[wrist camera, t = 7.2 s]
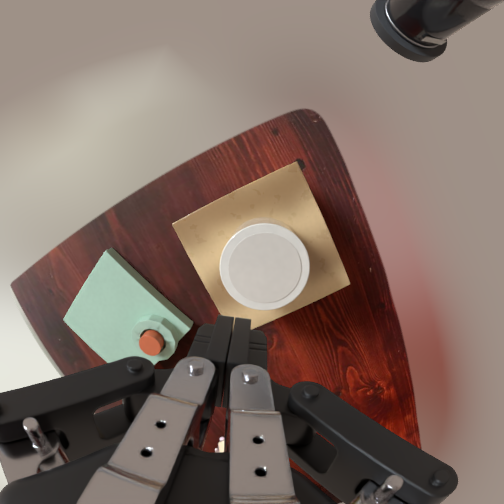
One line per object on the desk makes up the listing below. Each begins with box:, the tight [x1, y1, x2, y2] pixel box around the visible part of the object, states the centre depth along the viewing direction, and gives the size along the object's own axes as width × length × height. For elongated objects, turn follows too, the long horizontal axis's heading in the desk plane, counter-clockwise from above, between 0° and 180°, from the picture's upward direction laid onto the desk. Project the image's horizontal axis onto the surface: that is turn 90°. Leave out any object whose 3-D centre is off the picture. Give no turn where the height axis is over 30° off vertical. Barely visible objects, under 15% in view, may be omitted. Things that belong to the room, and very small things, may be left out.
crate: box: [172, 162, 350, 329], centre depth 28 cm, size 11×11×10 cm
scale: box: [63, 248, 193, 365], centre depth 34 cm, size 14×14×4 cm
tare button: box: [139, 330, 164, 356], centre depth 32 cm, size 3×3×2 cm
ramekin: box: [220, 217, 310, 310], centre depth 21 cm, size 6×6×4 cm
